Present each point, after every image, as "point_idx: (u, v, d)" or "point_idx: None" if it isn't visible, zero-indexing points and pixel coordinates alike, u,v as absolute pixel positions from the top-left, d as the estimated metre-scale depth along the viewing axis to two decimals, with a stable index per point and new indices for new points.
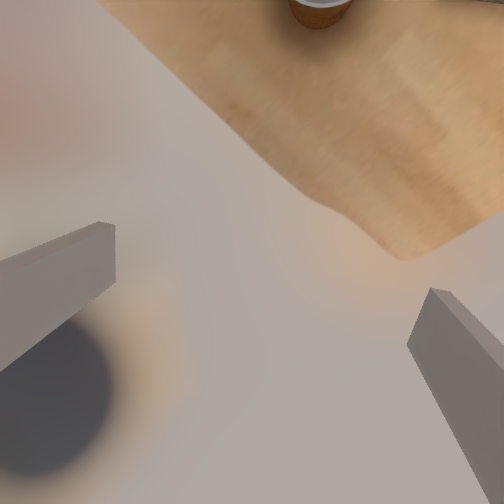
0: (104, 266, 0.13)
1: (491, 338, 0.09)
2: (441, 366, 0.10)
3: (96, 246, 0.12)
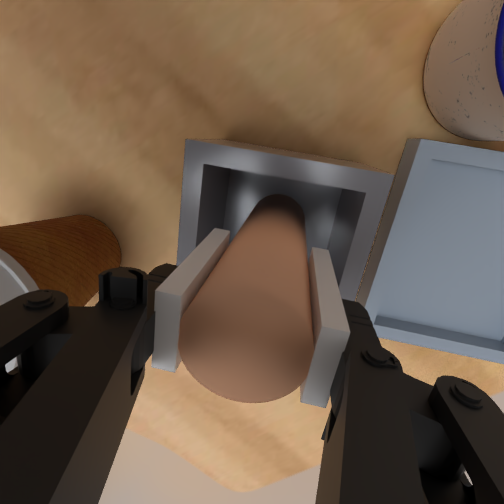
0: None
1: (330, 276, 0.11)
2: None
3: (222, 250, 0.13)
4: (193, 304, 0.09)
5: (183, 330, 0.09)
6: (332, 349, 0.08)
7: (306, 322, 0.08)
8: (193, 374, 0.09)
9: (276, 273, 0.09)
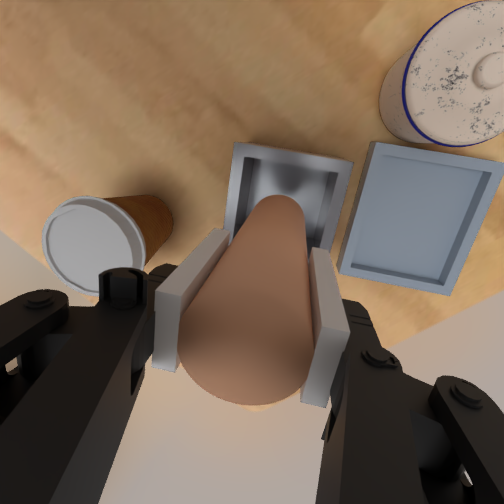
0: None
1: (330, 276, 0.11)
2: None
3: (222, 250, 0.13)
4: (193, 305, 0.09)
5: (182, 332, 0.09)
6: (332, 349, 0.08)
7: (306, 324, 0.08)
8: (192, 376, 0.09)
9: (276, 275, 0.09)
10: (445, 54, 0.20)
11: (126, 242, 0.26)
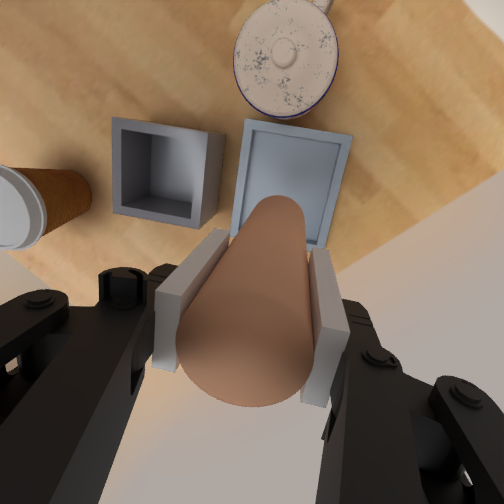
0: None
1: (330, 276, 0.11)
2: None
3: (222, 250, 0.13)
4: (192, 307, 0.08)
5: (181, 334, 0.09)
6: (332, 349, 0.08)
7: (306, 326, 0.08)
8: (192, 378, 0.09)
9: (275, 276, 0.09)
10: (254, 40, 0.25)
11: (22, 201, 0.31)
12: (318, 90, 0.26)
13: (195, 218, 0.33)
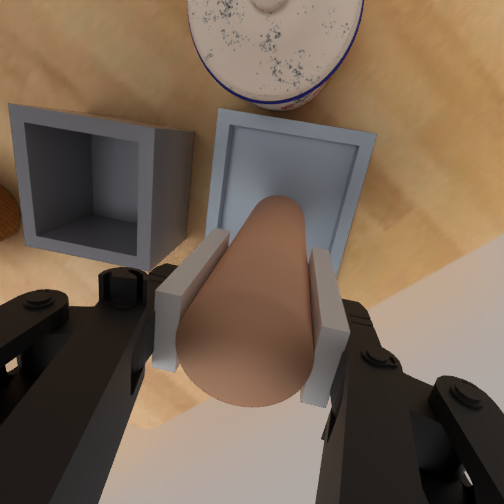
0: None
1: (330, 276, 0.11)
2: None
3: (222, 250, 0.13)
4: (192, 307, 0.08)
5: (181, 334, 0.09)
6: (332, 349, 0.08)
7: (306, 326, 0.08)
8: (192, 378, 0.09)
9: (276, 276, 0.09)
10: None
11: None
12: (330, 57, 0.16)
13: (143, 255, 0.22)
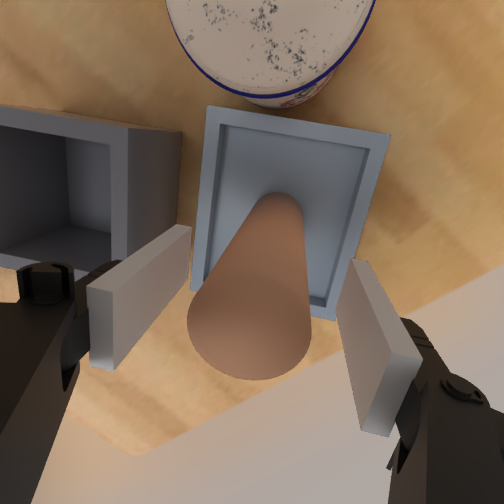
0: (183, 264, 0.14)
1: (380, 292, 0.11)
2: (348, 320, 0.12)
3: (181, 246, 0.13)
4: (202, 289, 0.10)
5: (193, 313, 0.10)
6: (401, 376, 0.08)
7: (304, 305, 0.09)
8: (201, 354, 0.10)
9: (277, 262, 0.10)
10: None
11: None
12: (339, 38, 0.12)
13: None
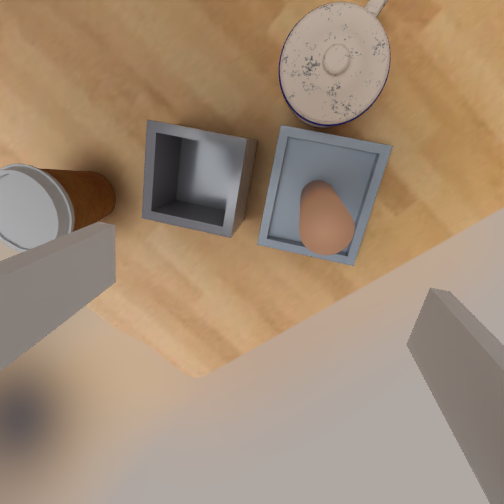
0: (104, 266, 0.13)
1: (491, 338, 0.09)
2: (441, 366, 0.10)
3: (96, 246, 0.12)
4: (308, 210, 0.22)
5: (302, 222, 0.23)
6: None
7: None
8: (303, 242, 0.23)
9: (338, 202, 0.23)
10: (304, 45, 0.24)
11: (52, 204, 0.30)
12: (368, 99, 0.25)
13: (227, 226, 0.32)
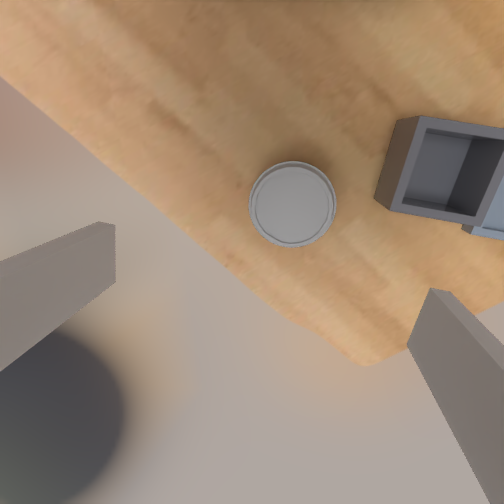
0: (104, 266, 0.13)
1: (491, 338, 0.09)
2: (441, 366, 0.10)
3: (96, 246, 0.12)
4: None
5: None
6: None
7: None
8: None
9: None
10: None
11: (330, 199, 0.31)
12: None
13: (480, 216, 0.34)
